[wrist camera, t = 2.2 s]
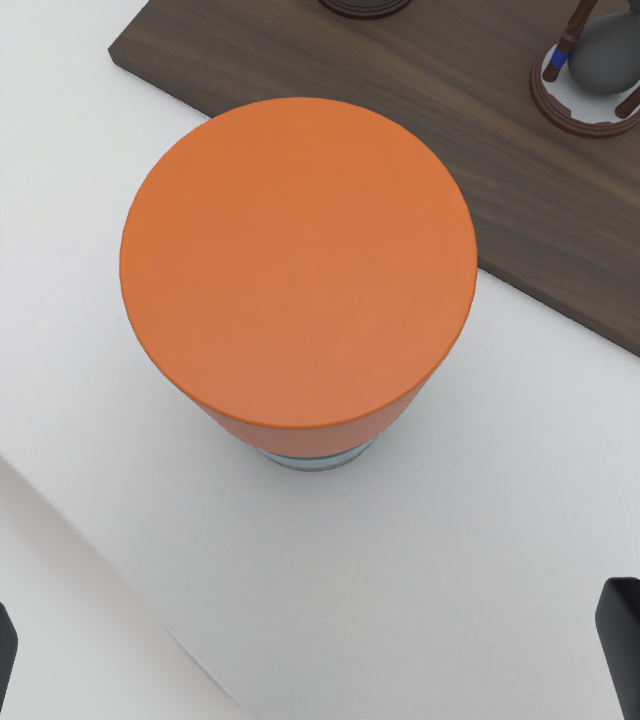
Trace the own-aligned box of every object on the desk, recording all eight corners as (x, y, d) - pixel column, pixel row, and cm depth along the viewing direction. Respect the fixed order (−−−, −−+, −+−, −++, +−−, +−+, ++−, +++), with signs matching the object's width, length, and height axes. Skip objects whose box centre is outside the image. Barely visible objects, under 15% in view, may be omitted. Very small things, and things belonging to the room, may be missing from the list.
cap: (435, 456, 14) (492, 427, 10) (177, 459, 14) (103, 431, 10) (422, 221, 16) (465, 93, 11) (189, 223, 16) (130, 97, 11)
